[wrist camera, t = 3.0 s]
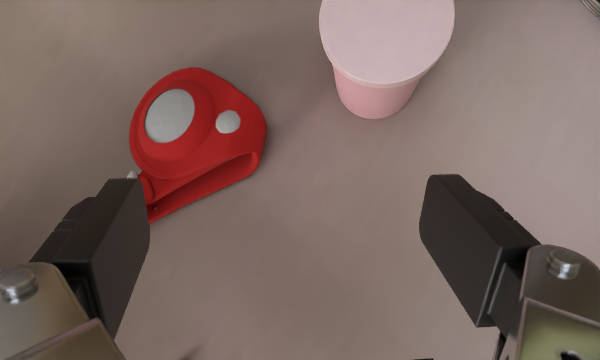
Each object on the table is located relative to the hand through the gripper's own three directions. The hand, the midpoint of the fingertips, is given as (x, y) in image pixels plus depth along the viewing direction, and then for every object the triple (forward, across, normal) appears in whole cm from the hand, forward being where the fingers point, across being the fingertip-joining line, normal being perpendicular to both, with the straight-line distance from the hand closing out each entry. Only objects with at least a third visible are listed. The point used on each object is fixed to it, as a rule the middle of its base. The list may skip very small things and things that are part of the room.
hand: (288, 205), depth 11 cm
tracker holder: (+18, +6, +6) cm, 20 cm away
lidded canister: (+17, -7, 0) cm, 18 cm away
